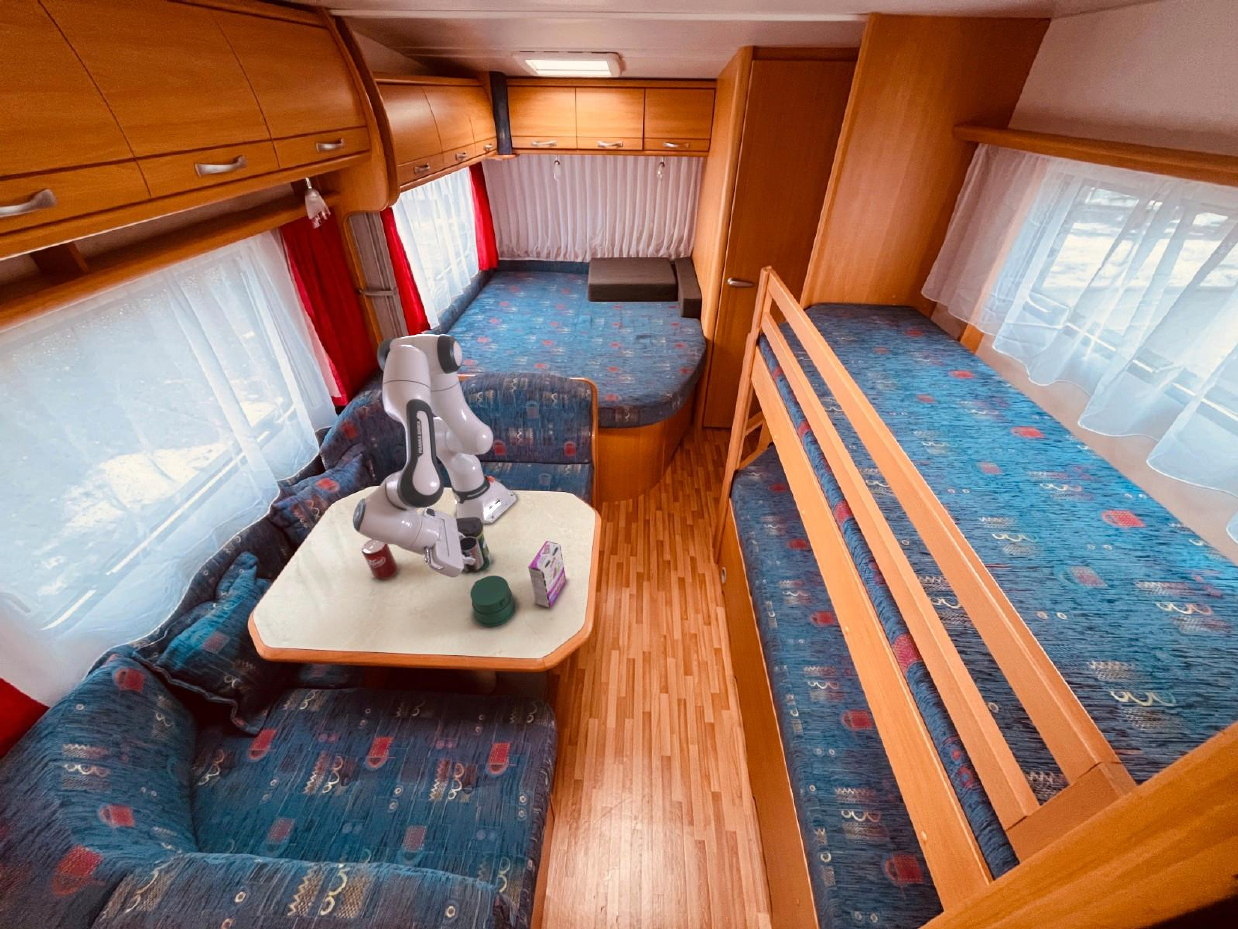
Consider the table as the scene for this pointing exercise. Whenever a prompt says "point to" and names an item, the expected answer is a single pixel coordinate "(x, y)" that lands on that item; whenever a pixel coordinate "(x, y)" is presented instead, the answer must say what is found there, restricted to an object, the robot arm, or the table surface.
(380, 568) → the soda can
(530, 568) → the candy bar box
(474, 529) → the coffee jar
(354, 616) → the table surface
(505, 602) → the bucket
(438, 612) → the table surface
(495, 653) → the table surface
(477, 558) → the steel cup
